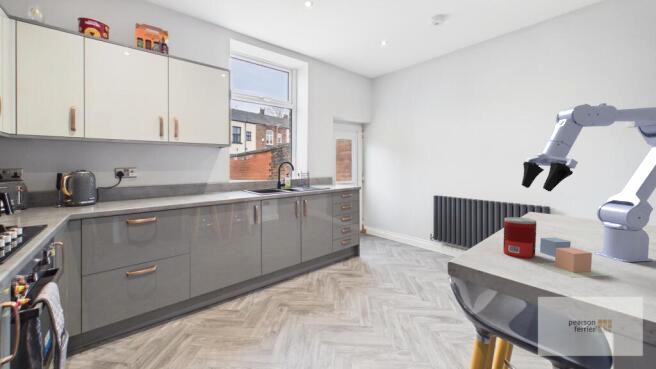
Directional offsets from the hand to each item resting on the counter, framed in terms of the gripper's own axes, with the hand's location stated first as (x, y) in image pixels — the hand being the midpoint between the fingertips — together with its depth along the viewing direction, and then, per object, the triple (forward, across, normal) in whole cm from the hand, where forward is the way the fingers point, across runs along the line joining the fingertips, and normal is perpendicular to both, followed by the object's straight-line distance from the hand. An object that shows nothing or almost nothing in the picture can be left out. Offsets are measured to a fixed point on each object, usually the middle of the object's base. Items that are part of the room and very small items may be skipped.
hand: (535, 188), depth 83 cm
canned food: (+20, -1, +8) cm, 21 cm away
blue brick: (+14, 0, +17) cm, 22 cm away
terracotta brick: (+16, +12, +10) cm, 23 cm away
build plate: (+17, +12, +11) cm, 23 cm away
